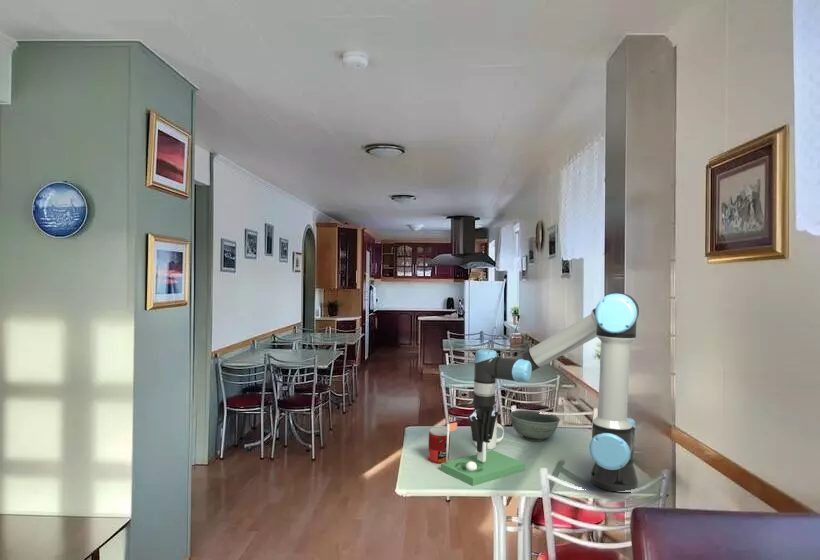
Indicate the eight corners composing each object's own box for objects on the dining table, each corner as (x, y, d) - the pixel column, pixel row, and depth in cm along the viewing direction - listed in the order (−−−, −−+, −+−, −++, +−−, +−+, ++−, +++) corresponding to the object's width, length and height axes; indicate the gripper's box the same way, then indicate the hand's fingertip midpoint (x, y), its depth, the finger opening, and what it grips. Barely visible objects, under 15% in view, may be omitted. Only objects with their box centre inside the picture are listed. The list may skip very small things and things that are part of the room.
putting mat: (524, 470, 190) (526, 424, 189) (472, 486, 174) (474, 435, 173) (492, 456, 202) (493, 413, 202) (440, 470, 186) (442, 423, 186)
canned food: (440, 465, 191) (441, 435, 191) (423, 459, 196) (424, 430, 196) (453, 460, 196) (454, 431, 196) (436, 455, 202) (437, 426, 202)
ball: (481, 469, 184) (475, 464, 182) (473, 477, 183) (467, 472, 181) (475, 462, 187) (469, 457, 185) (467, 470, 187) (461, 465, 185)
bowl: (500, 439, 224) (501, 415, 224) (520, 428, 241) (521, 406, 241) (548, 450, 212) (549, 425, 212) (565, 437, 229) (566, 414, 229)
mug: (507, 449, 211) (508, 422, 211) (478, 450, 209) (479, 423, 209) (499, 442, 220) (500, 416, 219) (471, 443, 217) (472, 417, 217)
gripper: (489, 389, 194) (486, 453, 194) (463, 393, 186) (460, 460, 186) (504, 393, 188) (502, 460, 188) (478, 398, 180) (475, 467, 180)
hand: (481, 460), depth 187 cm, fingers closed
